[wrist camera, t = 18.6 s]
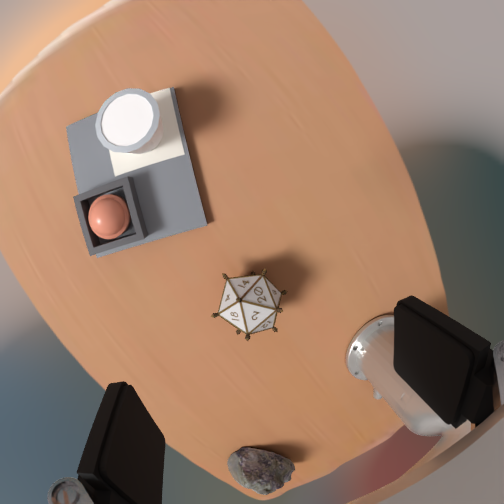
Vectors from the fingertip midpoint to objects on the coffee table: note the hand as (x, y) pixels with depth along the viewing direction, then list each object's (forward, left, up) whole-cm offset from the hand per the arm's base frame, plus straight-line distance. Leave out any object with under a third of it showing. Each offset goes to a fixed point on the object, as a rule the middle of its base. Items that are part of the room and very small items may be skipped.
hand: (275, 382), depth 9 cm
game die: (-8, -1, -28) cm, 30 cm away
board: (+11, +9, -28) cm, 32 cm away
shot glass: (+15, +7, -27) cm, 32 cm away
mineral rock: (-45, +6, -29) cm, 54 cm away
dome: (+6, +13, -27) cm, 30 cm away
